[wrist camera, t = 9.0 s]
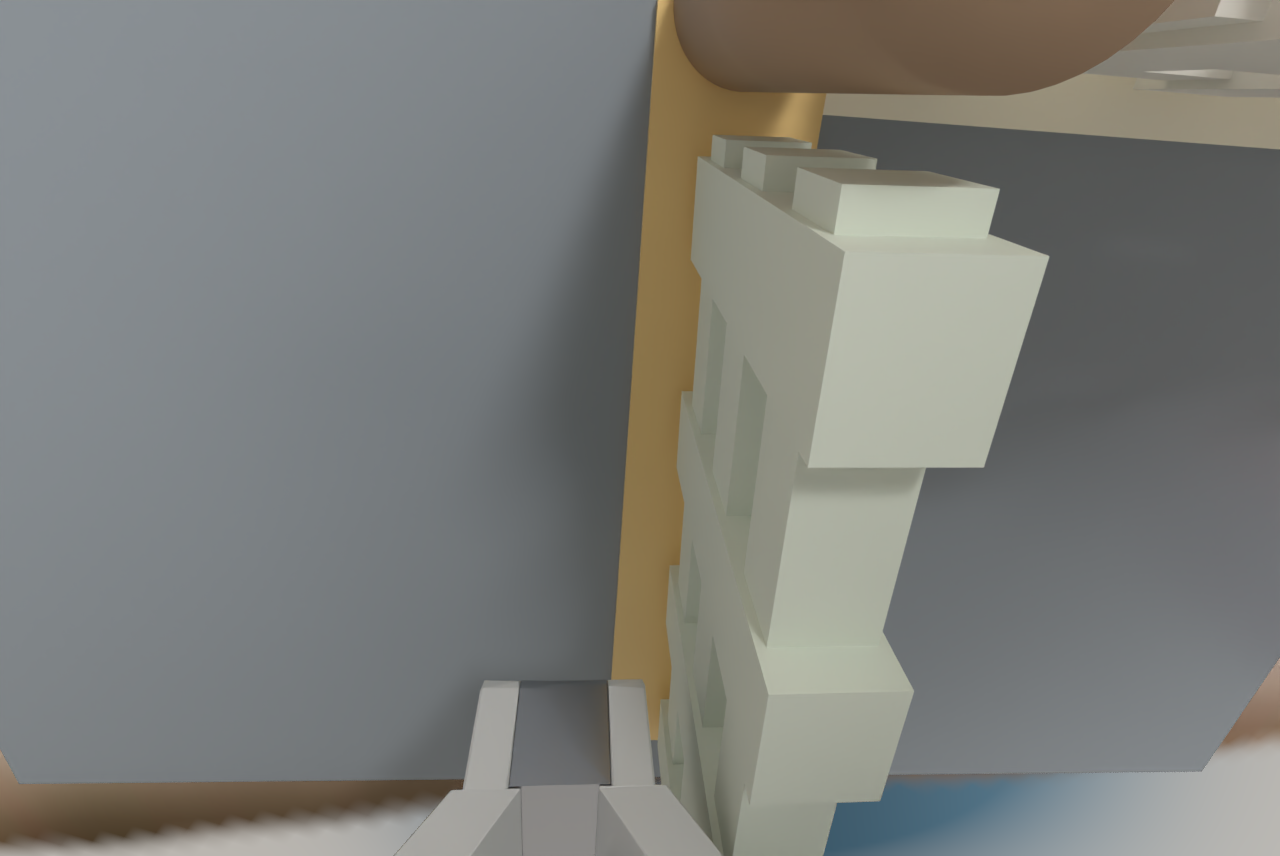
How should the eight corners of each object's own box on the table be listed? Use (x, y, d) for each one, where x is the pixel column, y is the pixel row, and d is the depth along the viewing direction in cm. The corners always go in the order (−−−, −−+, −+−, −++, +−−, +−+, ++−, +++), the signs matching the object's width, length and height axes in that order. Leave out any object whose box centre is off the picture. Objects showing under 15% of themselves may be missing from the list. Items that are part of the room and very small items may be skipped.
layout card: (1757, -193, 9) (1903, -228, 8) (1171, 737, 18) (1207, 777, 17) (-555, -501, 7) (-758, -605, 6) (52, 743, 15) (13, 790, 14)
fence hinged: (699, 132, 9) (854, 194, 4) (787, 135, 9) (1068, 200, 4) (657, 745, 14) (693, 1129, 9) (712, 743, 15) (780, 1122, 9)
